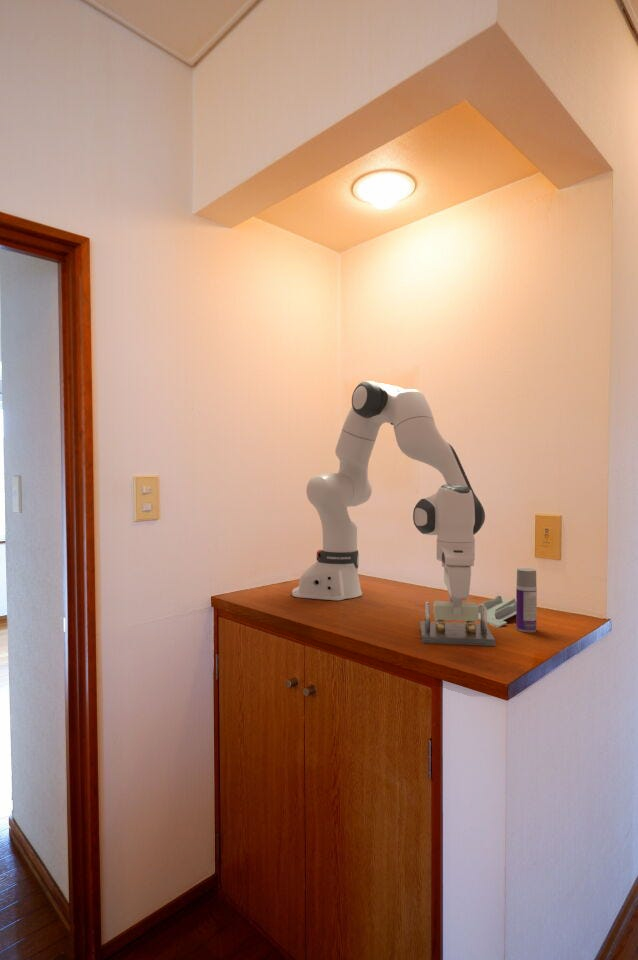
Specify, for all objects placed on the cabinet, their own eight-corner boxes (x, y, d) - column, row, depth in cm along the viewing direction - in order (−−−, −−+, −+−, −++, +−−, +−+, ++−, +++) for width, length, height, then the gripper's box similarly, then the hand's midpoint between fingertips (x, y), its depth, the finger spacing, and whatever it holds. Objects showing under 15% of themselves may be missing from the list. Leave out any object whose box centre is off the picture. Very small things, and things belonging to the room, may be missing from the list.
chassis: (422, 642, 123) (422, 610, 123) (420, 627, 136) (420, 597, 136) (495, 646, 121) (495, 612, 121) (485, 629, 134) (485, 599, 134)
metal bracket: (495, 589, 155) (535, 601, 141) (499, 608, 155) (539, 621, 141) (456, 608, 149) (493, 622, 135) (460, 628, 150) (498, 643, 136)
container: (513, 627, 136) (513, 567, 136) (532, 627, 136) (532, 567, 136) (519, 632, 131) (520, 571, 131) (539, 632, 131) (539, 571, 131)
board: (434, 619, 127) (434, 605, 127) (433, 613, 132) (433, 600, 132) (478, 621, 125) (478, 607, 125) (475, 615, 130) (476, 602, 130)
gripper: (438, 546, 139) (438, 600, 139) (445, 559, 119) (445, 621, 119) (463, 547, 138) (463, 601, 138) (475, 559, 118) (474, 622, 118)
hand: (455, 610), depth 128 cm, fingers closed on board, 5 cm apart
